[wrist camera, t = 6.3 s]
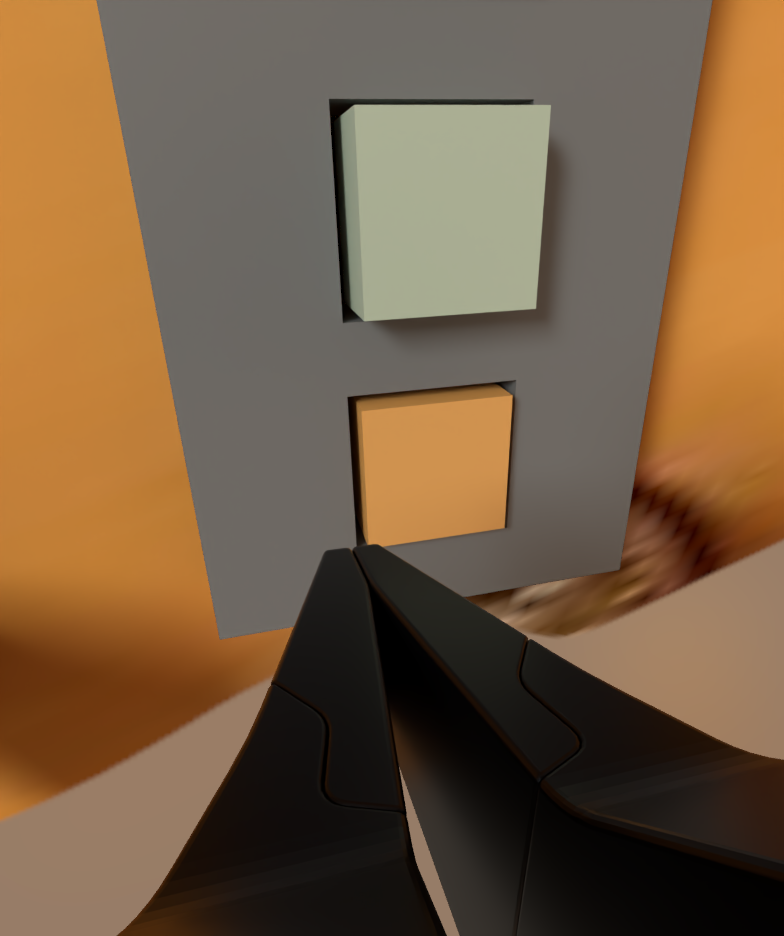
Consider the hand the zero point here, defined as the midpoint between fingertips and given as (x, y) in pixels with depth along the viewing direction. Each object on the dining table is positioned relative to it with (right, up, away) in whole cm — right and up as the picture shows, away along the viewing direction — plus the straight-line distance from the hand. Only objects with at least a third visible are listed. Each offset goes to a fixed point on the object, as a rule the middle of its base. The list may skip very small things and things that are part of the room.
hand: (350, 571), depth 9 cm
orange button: (+1, +3, +11) cm, 11 cm away
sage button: (+1, +9, +7) cm, 11 cm away
